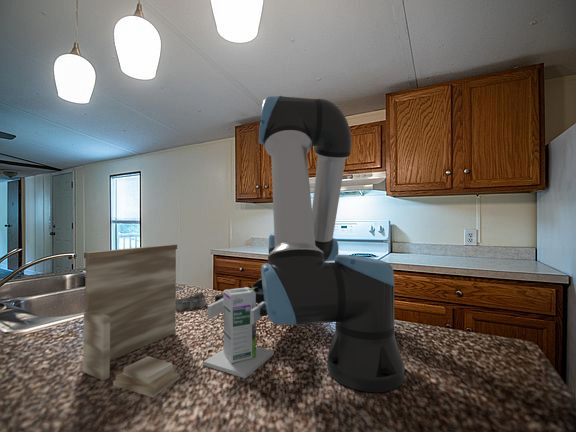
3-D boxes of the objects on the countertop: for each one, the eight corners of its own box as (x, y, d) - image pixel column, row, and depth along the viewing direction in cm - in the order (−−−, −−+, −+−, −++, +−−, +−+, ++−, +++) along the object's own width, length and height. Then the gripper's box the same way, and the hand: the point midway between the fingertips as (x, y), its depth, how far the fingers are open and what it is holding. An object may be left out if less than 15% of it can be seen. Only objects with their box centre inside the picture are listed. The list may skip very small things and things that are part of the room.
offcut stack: (181, 379, 55) (181, 360, 55) (153, 399, 49) (153, 379, 49) (143, 369, 58) (143, 352, 59) (112, 387, 52) (113, 368, 52)
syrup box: (230, 364, 58) (231, 294, 58) (222, 353, 63) (223, 288, 63) (256, 358, 61) (256, 291, 61) (246, 347, 66) (246, 285, 66)
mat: (273, 354, 64) (273, 351, 64) (245, 378, 54) (245, 374, 54) (235, 344, 69) (235, 341, 69) (203, 365, 59) (203, 361, 59)
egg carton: (204, 302, 106) (204, 291, 106) (206, 308, 99) (206, 296, 99) (174, 305, 102) (174, 294, 102) (174, 311, 95) (174, 299, 95)
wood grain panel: (193, 336, 74) (193, 245, 74) (103, 380, 54) (104, 254, 54) (172, 331, 78) (172, 244, 78) (80, 370, 57) (81, 252, 58)
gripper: (307, 306, 76) (280, 339, 54) (234, 299, 82) (185, 327, 61) (306, 278, 76) (280, 301, 54) (234, 273, 82) (185, 292, 61)
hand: (229, 314), depth 58 cm, fingers open, 9 cm apart
